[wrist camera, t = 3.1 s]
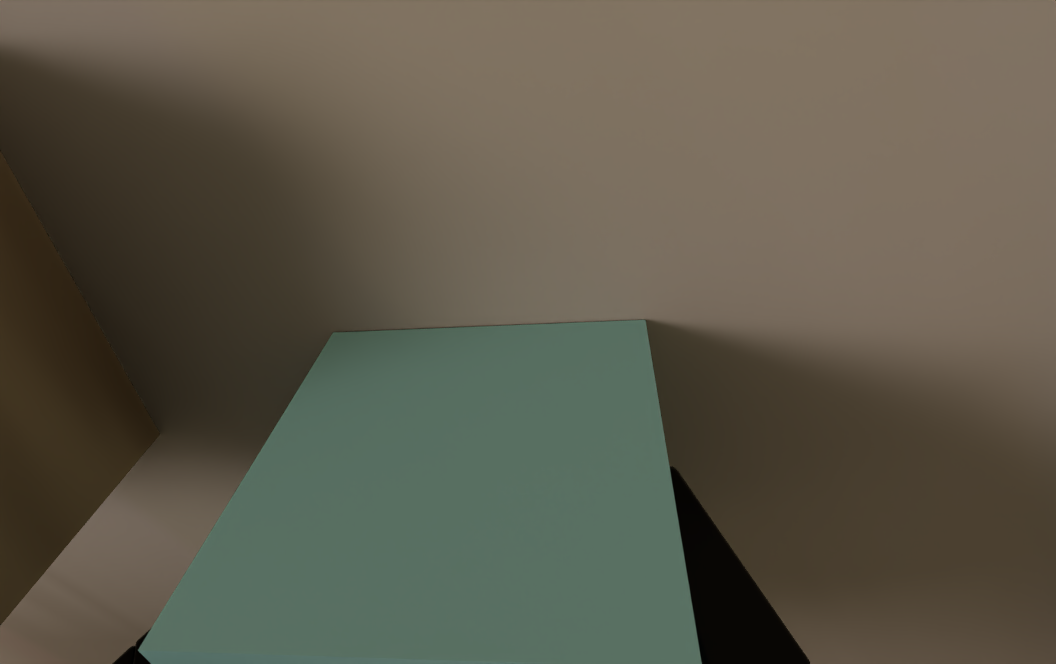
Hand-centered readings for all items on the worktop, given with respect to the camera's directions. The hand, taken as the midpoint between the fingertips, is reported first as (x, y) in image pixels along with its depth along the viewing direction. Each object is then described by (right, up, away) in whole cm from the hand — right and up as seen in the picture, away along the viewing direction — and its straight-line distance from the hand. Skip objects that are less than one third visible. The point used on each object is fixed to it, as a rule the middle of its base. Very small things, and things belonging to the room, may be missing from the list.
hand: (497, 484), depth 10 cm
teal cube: (0, +1, +1) cm, 1 cm away
